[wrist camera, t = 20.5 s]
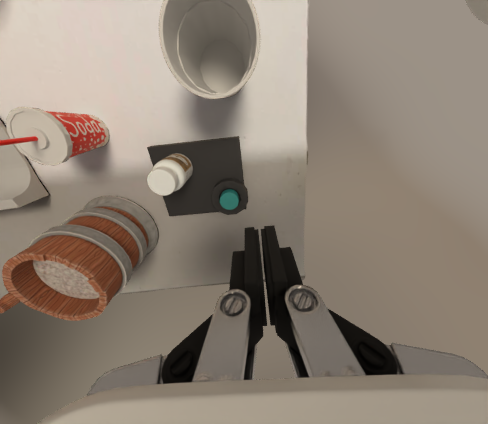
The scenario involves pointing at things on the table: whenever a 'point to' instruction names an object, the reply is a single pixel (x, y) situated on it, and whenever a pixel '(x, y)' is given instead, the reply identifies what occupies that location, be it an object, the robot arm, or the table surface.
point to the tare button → (229, 199)
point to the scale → (205, 175)
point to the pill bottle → (170, 174)
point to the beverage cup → (53, 134)
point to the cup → (210, 44)
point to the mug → (81, 260)
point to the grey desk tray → (16, 177)
